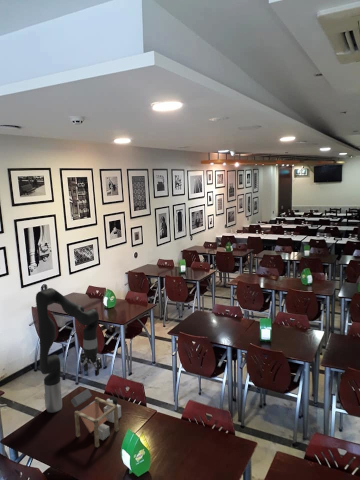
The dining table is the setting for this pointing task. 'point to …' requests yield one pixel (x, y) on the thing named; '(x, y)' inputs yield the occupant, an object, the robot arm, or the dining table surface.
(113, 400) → the medicine bottle
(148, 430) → the dining table surface
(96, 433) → the stand
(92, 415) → the trapdoor
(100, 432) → the light gray cube
